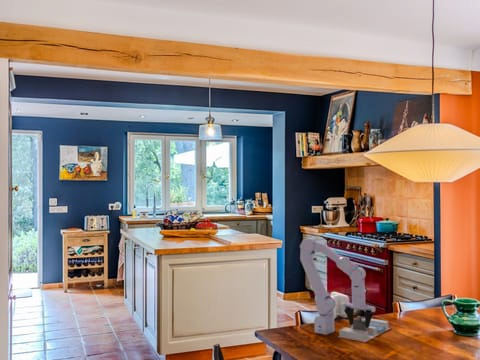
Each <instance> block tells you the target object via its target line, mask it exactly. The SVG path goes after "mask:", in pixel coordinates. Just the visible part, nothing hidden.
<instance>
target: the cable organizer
mask: <svg viewBox="0 0 480 360" xmlns="http://www.w3.org/2000/svg"><path fill="white" fill-rule="evenodd" d="M329 294H330V296H331V297H332V298H333V299H334V301H335V308H334V309H333V311H334V320H335V319H336V318H337V316H340V317H342V318H344V319H347V318H348V317H347V315H346V313H345V311H344V309H345V308H343V303H350V297H349V296H348V295H346V294H344V293H340V292H338V291H332V292H330V293H329Z"/></svg>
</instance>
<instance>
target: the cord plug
mask: <svg viewBox="0 0 480 360" xmlns="http://www.w3.org/2000/svg"><path fill="white" fill-rule="evenodd" d="M361 319H362V316H360V315H357V316H356V319H354V321H353V329H357V330H363V331H366V326H365V321H363V320H361Z"/></svg>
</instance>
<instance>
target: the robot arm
mask: <svg viewBox="0 0 480 360" xmlns="http://www.w3.org/2000/svg"><path fill="white" fill-rule="evenodd" d="M299 248H300V253H299V254H300V255H299V256H300V257H299V259H300V263H301V265H302V268H303V269H304V272H305V274H306V277H307V279H308V281H309V284H310V285H311V288H312V290H313V292H314V302H315V309H316V311H317V315H316V316H315V318H314V322H313V324H314V333H315V334H322V335H329V334H332V333H334V332H335V319H334V311H333V309H334V308H335V301H334V299H333V298H332V297H331V296H330V294H331V293H330V292H329V291H327V290H326V288H325V285H324V283H323V281H322V278H321V276H320V274H319V271H318V269H317V267H316V264H315V262H314V260H313V258H314V255H315V253H322V254H323V255H325V256H326V257H328V258H329V259H330V260H332V261H333V262H335V264H336V267H337V268H338V269H339V270H341V271H342V272H343V273H345V274H346V275H348V277H349V279H350V280H351V302H349V303H343V308H345V309H344V311H345V313H346V315H347V317H346V318H347V320H348V322H349V325H350V326H351V325H353V321H355V319H354V316H355V315H354V314H355V310H358V311H359V310H361V311H364V312H363V315H364V319H365V326H366V328H368V327H369V325H370V321H371V319H373V318H372V317H373V315H374V314H375V312H376V306H372V305H369V304H366V284H365V278H366V275H367V274H366V273H367V272H366V270H365V269H364V268H363V267H362V266H359V265H358V264H355V263H354V262H352V260H350V258H349V256H340V255H339V254H338V253H337V252H336V251H334V250H333V249H332V248H331V247H330V246H329V245H327V244H326V243H325V242H324V241H323V240H321V239H319V238H318V237H317V236H312V237H309V238H304V239H303V240H302V241H301V243H300V245H299Z"/></svg>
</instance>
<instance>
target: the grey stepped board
mask: <svg viewBox="0 0 480 360" xmlns="http://www.w3.org/2000/svg"><path fill="white" fill-rule="evenodd" d="M361 320H363V321H365V318H361ZM390 329H391V327H389V321H388V320H383V319H375V318H371V321H370V325H369V327H368V328H366V331H363V330H357V329H353V325H350V327H345V326H344V327H343V328H341V329H339V330H338V333H339V335H338V336H337V337H338V338H343V339H348V340H353V341H358V342H363V343H366V342H368V341H369V340H371V339H374V338H376V337H377V336H379V335H380V334H383V333H384V332H386V331H388V330H390Z"/></svg>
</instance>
